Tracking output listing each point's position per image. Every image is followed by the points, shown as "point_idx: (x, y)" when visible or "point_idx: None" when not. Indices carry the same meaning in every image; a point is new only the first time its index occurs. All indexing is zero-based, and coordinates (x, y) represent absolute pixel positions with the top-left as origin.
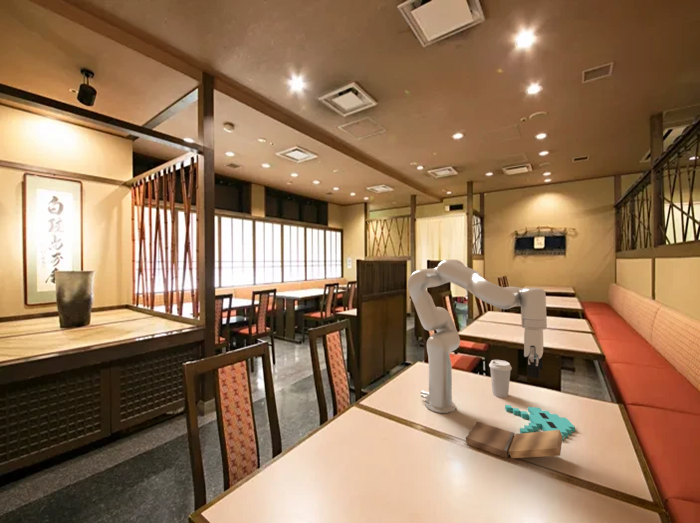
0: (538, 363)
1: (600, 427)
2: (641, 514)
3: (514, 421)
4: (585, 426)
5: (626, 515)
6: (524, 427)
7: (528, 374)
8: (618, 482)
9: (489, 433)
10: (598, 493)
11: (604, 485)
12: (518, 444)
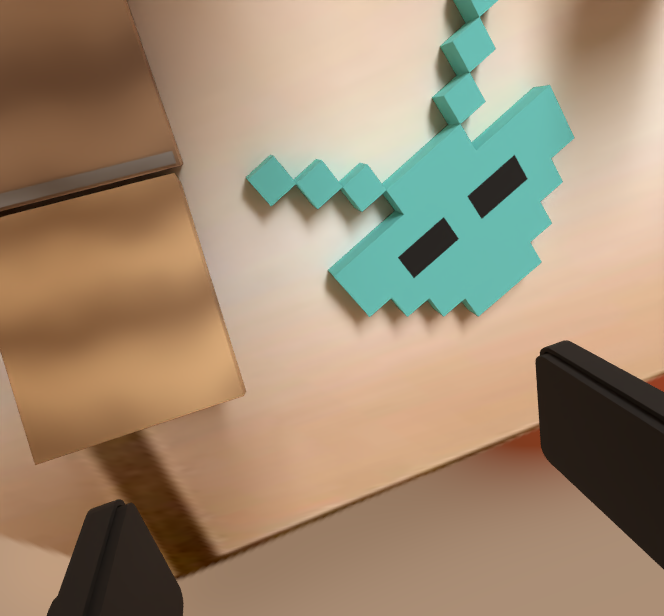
0: (607, 474)
1: None
2: None
3: (364, 81)
4: (538, 315)
5: None
6: (318, 161)
7: (87, 526)
8: (234, 492)
9: (24, 56)
10: (112, 489)
11: (177, 481)
12: (50, 247)
